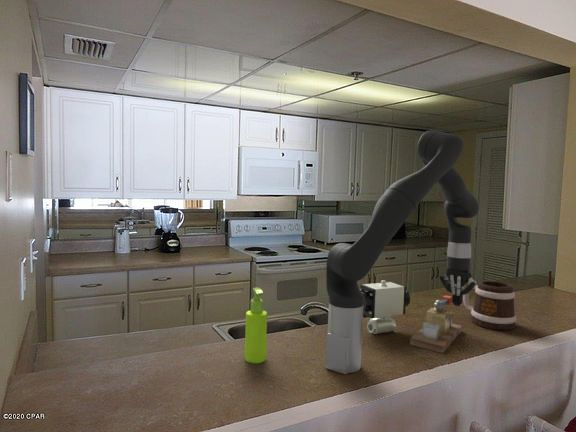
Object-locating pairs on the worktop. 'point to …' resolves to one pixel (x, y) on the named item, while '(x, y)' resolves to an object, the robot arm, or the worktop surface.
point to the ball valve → (383, 304)
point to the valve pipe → (436, 324)
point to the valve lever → (442, 303)
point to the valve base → (442, 340)
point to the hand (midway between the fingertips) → (456, 305)
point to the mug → (492, 306)
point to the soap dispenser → (256, 330)
